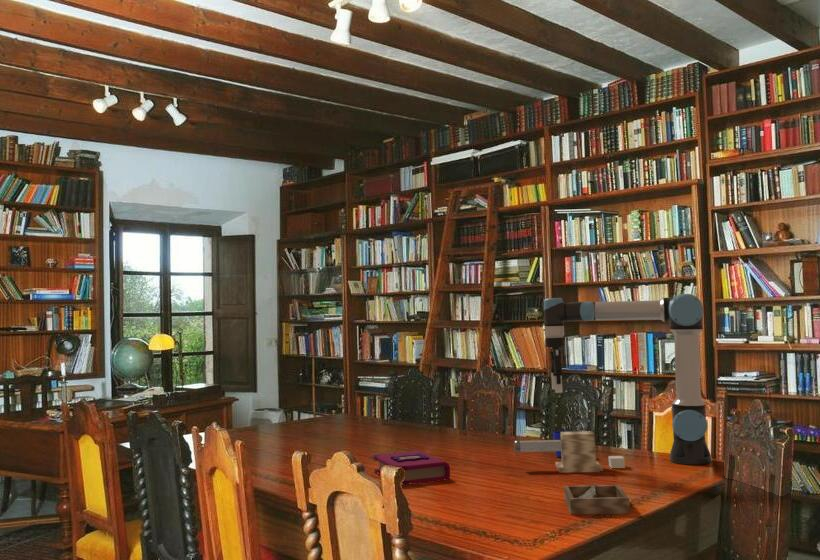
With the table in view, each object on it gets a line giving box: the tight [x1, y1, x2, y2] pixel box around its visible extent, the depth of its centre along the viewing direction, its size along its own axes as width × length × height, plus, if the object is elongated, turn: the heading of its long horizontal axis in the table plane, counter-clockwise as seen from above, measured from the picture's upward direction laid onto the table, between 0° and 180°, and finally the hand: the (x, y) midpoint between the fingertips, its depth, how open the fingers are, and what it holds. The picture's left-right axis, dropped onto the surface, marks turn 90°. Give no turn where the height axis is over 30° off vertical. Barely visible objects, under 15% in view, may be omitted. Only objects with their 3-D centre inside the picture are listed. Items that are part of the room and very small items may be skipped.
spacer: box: [608, 455, 626, 469], centre depth 282 cm, size 5×5×4 cm
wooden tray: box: [563, 484, 631, 515], centre depth 226 cm, size 17×17×4 cm
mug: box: [552, 430, 572, 459], centre depth 307 cm, size 8×12×10 cm
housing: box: [555, 430, 604, 474], centre depth 283 cm, size 16×14×13 cm
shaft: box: [513, 439, 563, 453], centre depth 284 cm, size 28×4×4 cm, turn 84°
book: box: [373, 450, 451, 486], centre depth 282 cm, size 21×28×8 cm
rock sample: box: [578, 483, 599, 498], centre depth 229 cm, size 10×8×9 cm
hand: (557, 391), depth 293 cm, fingers open, 13 cm apart
